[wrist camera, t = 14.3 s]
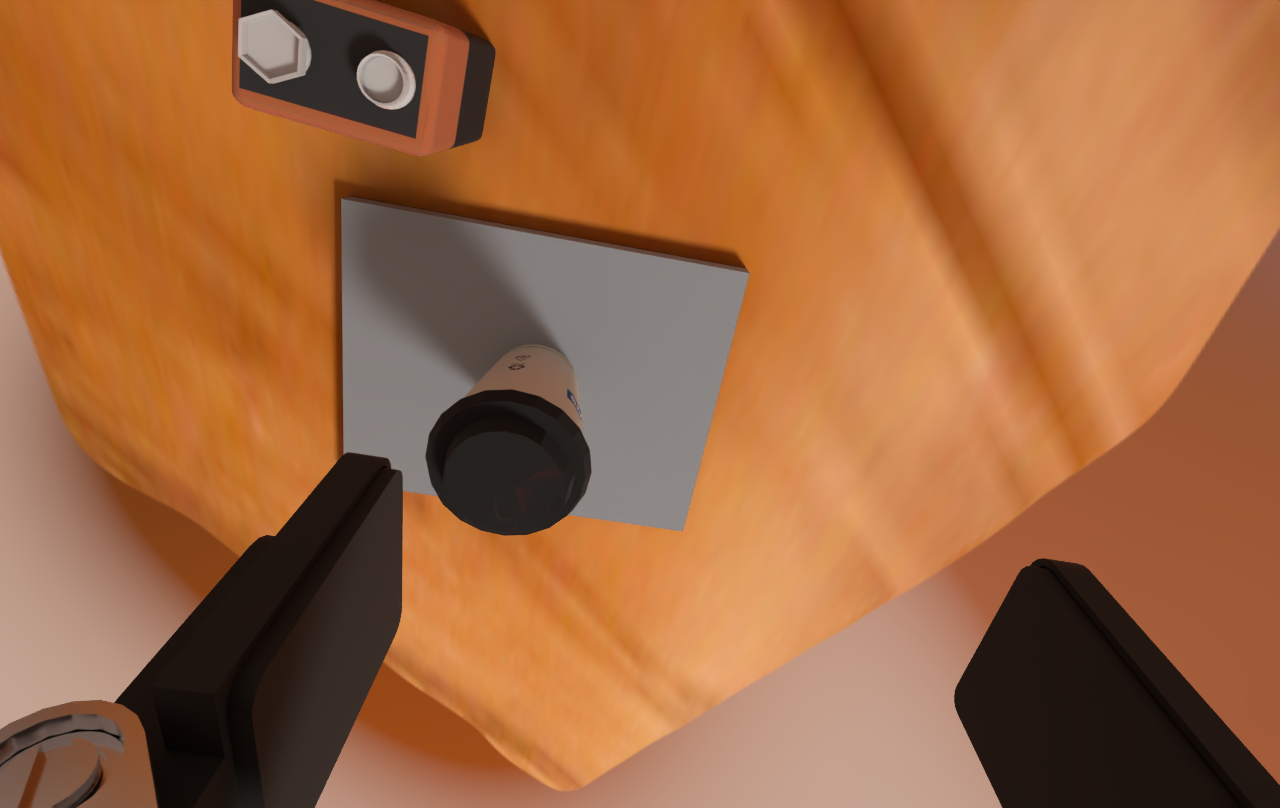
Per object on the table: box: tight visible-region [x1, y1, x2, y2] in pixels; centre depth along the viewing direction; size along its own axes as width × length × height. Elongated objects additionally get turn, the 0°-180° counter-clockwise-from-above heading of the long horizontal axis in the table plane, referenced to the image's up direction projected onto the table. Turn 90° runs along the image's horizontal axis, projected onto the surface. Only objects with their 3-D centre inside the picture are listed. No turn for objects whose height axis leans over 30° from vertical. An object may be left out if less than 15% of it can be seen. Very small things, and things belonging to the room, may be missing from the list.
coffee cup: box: [425, 344, 592, 535], centre depth 31 cm, size 7×7×10 cm
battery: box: [232, 0, 495, 156], centre depth 25 cm, size 4×7×10 cm, turn 74°
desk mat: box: [341, 196, 749, 531], centre depth 36 cm, size 20×16×1 cm
